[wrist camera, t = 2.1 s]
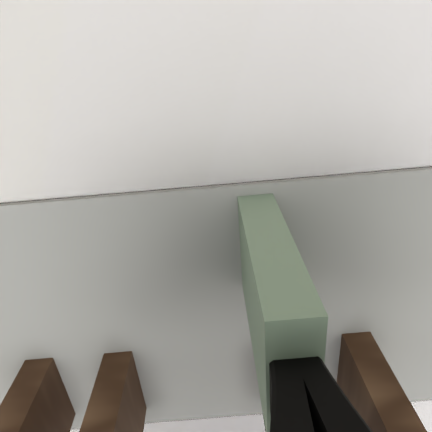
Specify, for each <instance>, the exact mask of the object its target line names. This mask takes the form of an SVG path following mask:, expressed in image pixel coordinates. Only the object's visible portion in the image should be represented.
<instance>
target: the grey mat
mask: <svg viewBox="0 0 432 432" xmlns="http://www.w3.org/2000/svg"><path fill="white" fill-rule="evenodd" d="M271 193H273V195H274V197H275V199H276V202H277V204H278V206H279V208H280V211H281V213H282V215H283V217H284V219H285V222H286V224H287V226H288V228H289V230H290V233H291V235H292V237H293V239H294V242H295V244H296V246H297V248H298V250H299V253H300V255H301V257H302V259H303V261H304V264H305V266H306V268H307V270H308V273H309V275H310V277H311V279H312V281H313V284H314V286H315V288H316V290H317V292H318V295H319V297H320V299H321V301H322V304H323V306H324V308H325V310H326V312H327V315H328V327H327V339H326V351H325V365H326V367H327V368H328V370H329V372H330V373H331V375H332V376H333V378H334V379H335V381H336V382H337V374H338V364H339V355H340V346H341V337H342V334H346V333H358V332H371V334H372V336H373V337H374V339H375V341H376V343H377V344H378V346H379V348H380V350H381V352H382V353H383V355H384V357H385V359H386V360H387V362H388V364H389V366H390V367H391V369H392V371H393V373H394V375H395V376H396V378H397V380H398V382H399V383H400V385H401V387H402V389H403V390H404V392H405V394H406V396H407V397H408V399H409V401H410V402H416V401H428V400H432V167H423V168H411V169H399V170H388V171H376V172H364V173H353V174H341V175H329V176H317V177H306V178H294V179H282V180H271V181H259V182H247V183H236V184H224V185H212V186H201V187H189V188H177V189H165V190H154V191H142V192H130V193H119V194H107V195H95V196H84V197H72V198H60V199H48V200H37V201H25V202H13V203H2V204H0V405H1V403H2V401H3V399H4V397H5V396H6V394H7V392H8V390H9V388H10V387H11V385H12V383H13V381H14V379H15V377H16V376H17V374H18V372H19V370H20V368H21V367H22V365H23V363H24V361H25V360H30V359H43V358H53V359H54V361H55V364H56V366H57V369H58V371H59V373H60V376H61V378H62V381H63V383H64V386H65V388H66V391H67V393H68V396H69V398H70V401H71V403H72V406H73V408H74V411H75V413H76V415H75V417H74V420H73V423H72V426H71V429H80V428H81V425H82V422H83V418H84V415H85V412H86V409H87V406H88V402H89V399H90V396H91V393H92V390H93V386H94V383H95V380H96V377H97V374H98V371H99V367H100V364H101V361H102V358H103V355H104V353H115V352H127V351H132V353H133V357H134V361H135V365H136V369H137V373H138V376H139V380H140V384H141V388H142V392H143V396H144V400H145V404H146V407H147V409H146V416H145V422H144V423H156V422H169V421H181V420H193V419H206V418H218V417H230V416H243V415H255V414H263V412H262V405H261V399H260V393H259V387H258V380H257V374H256V368H255V361H254V355H253V349H252V343H251V336H250V330H249V324H248V317H247V311H246V305H245V299H244V292H243V286H242V270H241V252H240V234H239V217H238V199H237V196H247V195H259V194H271Z"/></svg>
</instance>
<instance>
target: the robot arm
mask: <svg viewBox="0 0 432 432" xmlns="http://www.w3.org/2000/svg"><path fill="white" fill-rule="evenodd" d="M269 376H270V414H271V421H270V432H373V431H372V430H371V429H370V427H369V426H368V425H367V423H366V422H365V421H364V419H363V418H362V417H361V416H360V414H359V413H358V412H357V410H356V409H355V408H354V406H353V405H352V404H351V402H350V401H349V399H348V398H347V397H346V395H345V394H344V392H343V391H342V389H341V388H340V387H339V385H338V384H337V382H336V381H335V379H334V378H333V376H332V375H331V373H330V372H329V370H328V368H327V367H326V365H325V364H324V362H323V360H322V359H321V358H320V357H318V356H316V357H305V358H293V359H281V360H273V361H271V362H270V363H269Z"/></svg>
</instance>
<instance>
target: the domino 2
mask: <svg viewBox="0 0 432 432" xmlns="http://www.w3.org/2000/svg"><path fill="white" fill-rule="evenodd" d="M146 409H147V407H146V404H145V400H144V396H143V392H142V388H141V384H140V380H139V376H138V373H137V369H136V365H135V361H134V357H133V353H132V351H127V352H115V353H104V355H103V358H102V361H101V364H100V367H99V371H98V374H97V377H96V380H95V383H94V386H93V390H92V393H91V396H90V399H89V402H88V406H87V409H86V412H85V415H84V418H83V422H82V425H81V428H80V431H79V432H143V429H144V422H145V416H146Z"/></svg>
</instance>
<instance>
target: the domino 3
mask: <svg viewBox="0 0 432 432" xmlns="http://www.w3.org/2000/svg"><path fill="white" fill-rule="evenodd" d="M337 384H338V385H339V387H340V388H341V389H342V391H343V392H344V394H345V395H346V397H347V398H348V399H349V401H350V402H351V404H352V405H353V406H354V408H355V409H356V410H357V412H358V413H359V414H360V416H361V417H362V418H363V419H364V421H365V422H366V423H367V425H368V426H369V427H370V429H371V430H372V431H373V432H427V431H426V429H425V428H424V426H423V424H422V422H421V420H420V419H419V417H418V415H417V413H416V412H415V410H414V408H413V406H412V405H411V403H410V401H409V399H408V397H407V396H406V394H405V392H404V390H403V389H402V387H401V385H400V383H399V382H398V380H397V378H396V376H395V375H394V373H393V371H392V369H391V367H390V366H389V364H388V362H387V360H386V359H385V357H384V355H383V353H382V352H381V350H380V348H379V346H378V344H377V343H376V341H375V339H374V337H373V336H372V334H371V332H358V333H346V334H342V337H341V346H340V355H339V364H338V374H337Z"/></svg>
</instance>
